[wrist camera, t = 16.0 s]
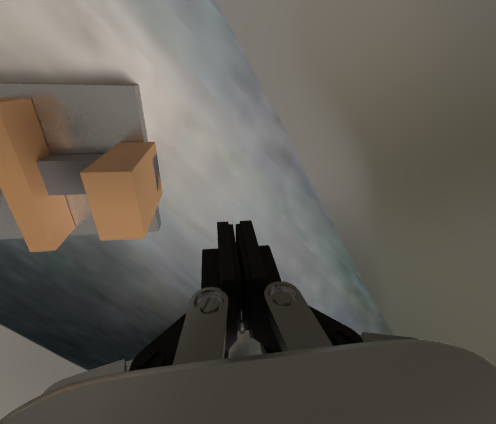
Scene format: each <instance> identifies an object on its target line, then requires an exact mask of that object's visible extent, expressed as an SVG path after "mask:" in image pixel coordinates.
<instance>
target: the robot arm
mask: <svg viewBox="0 0 496 424" xmlns="http://www.w3.org/2000/svg"><path fill="white" fill-rule="evenodd" d="M217 230H218V249H203V250H202V280H201V289H200V290H198V291H197V292H195V293H194V295H193V296H192V297H191V299H190V302H189V306H188V310H187V313H186V314H185V315H183V316H182V317H181V318H180V319H179V320H177V321H176V322H175V323H174V324H173V325H171V326H170V327H169V328H168V329H167V330H166V331H164V332H163V333H162V334H161V335H160V336H158V337H157V338H156V339H155V340H154V341H152V342H151V343H150V344H149V345H148V346H147V347H145V348H144V349H143V350H142V351H141V352H140V353H139V354H138V355H137V356H136V357H135V358H134V359H133V360H130V361H127V362H125V359H123V360H120V361H117V362H114V363H111V364H108V365H105V366H102V367H99V368H96V369H92V370H89V371H86V372H83V373H80V374H77V375H74V376H71V377H68V378H65V379H62V380H60V381H58V382H56V383H54V384H53V385H51V386H50V387H49V388H48V389H46V390H45V391H44V393H43V394H42V395H41V396H39V397H37V398H35V399H33V400H31V401H29V402H27V403H25V404H24V405H22V406H20V407H18V408H17V409H15V410H14V411H12V412H10V413H9V414H8V415H6V416H5V417H4V418H2V419H1V420H0V424H496V366H495V365H494V364H493V363H491V362H490V361H488V360H487V359H486V358H484V357H482V356H481V355H479V354H477V353H475V352H473V351H470V350H468V349H465V348H462V347H459V346H455V345H451V344H446V343H443V342H437V341H429V340H419V339H416V338H412V337H405V336H396V335H386V334H377V333H368V332H363V333H362V335H359V334H357V333H356V332H355V331H353V330H352V329H351V328H349V327H347V326H345V325H343V324H341V323H340V322H338V321H336V320H334V319H332V318H330V317H329V316H327V315H325V314H323V313H321V312H319V311H317V310H316V309H314V308H312V307H310V306H308V304H307V302H306V301H305V299H304V298H303V296H302V294H301V293H300V291H299V290H298V289H297V288H296V287H295V286H294V285H292V284H290V283H288V282H283V281H281V279H280V276H279V273H278V270H277V267H276V264H275V261H274V258H273V255H272V252H271V250H270V247H269V246H268V245H265V246H258V242H257V239H256V235H255V232H254V228H253V225H252V222H251V221H240V224H236V242H235V236H234V229H233V224H228V222H217ZM241 311H242V318H243V322H242V323H241Z"/></svg>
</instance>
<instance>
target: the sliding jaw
mask: <svg viewBox="0 0 496 424" xmlns="http://www.w3.org/2000/svg"><path fill="white" fill-rule="evenodd" d="M0 188H1V190H2V193H3V195H4V197H5V199H6V201H7V203H8V205H9V208H10V210H11V212H12V214H13V216H14V218H15V220H16V223H17V225H18V227H19V229H20V231H21V233H22V235H23V238H24V240H25V242H26V244H27V246H28V248H29V250H30V252H41V251H55V250H56V249H57V248H58V247H59V246H60V245H61V244H62V242H63V241H64V240H65V239H66V238H67V237H68V235H69V234H70V233H71V232H72V231H73V230H74V229H75V225H74V222H73V219H72V216H71V213H70V210H69V207H68V205H67V202H66V199H65V196H64V195H79V194H86V195H87V198H88V201H89V205H90V208H91V211H92V215H93V218H94V221H95V225H96V228H97V231H98V235H99V238H100V241H104V240H122V239H140V238H145V237H146V234H147V232H148V229H149V226H150V224H151V221H152V219H153V216H154V214H155V211H156V208H157V206H158V203H159V201H160V198H161V196H162V186H161V180H160V173H159V166H158V159H157V153H156V146H155V142H119V143H118V144H117V145H115V146H114V147H113V148H112V149H110V150H109V151H108V152H106V153H105V154H55V155H50V153H49V150H48V147H47V144H46V141H45V138H44V135H43V132H42V129H41V127H40V124H39V121H38V118H37V115H36V112H35V109H34V106H33V103H32V101H31V98H0Z"/></svg>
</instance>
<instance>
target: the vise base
mask: <svg viewBox="0 0 496 424" xmlns="http://www.w3.org/2000/svg"><path fill="white" fill-rule="evenodd" d="M0 98H31V101H32V103H33V106H34V109H35V112H36V115H37V118H38V121H39V124H40V127H41V129H42V132H43V135H44V138H45V141H46V144H47V147H48V150H49V153H50V155H55V154H105V153H106V152H108V151H109V150H110V149H112V148H113V147H114V146H115V145H117V144H118V143H119V142H148V139H147V133H146V127H145V121H144V114H143V108H142V102H141V96H140V90H139V85H102V84H45V83H0ZM64 196H65V199H66V202H67V205H68V207H69V210H70V213H71V216H72V219H73V222H74V225H75V229H74V230H73V231H72V232H71V233H70V234H69V235H68V236H74V235H93V234H98V231H97V228H96V225H95V221H94V218H93V215H92V211H91V208H90V205H89V201H88V198H87V195H86V194H79V195H64ZM160 226H161V220H160V214H159V208H158V206H157V208H156V211H155V214H154V216H153V219H152V221H151V224H150V226H149V229H148V232H151V231H159V229H160ZM16 238H23V235H22V233H21V231H20V229H19V227H18V225H17V223H16V220H15V218H14V216H13V214H12V212H11V210H10V208H9V205H8V203H7V201H6V199H5V197H4V195H3V193H2V190H1V188H0V239H16Z"/></svg>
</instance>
